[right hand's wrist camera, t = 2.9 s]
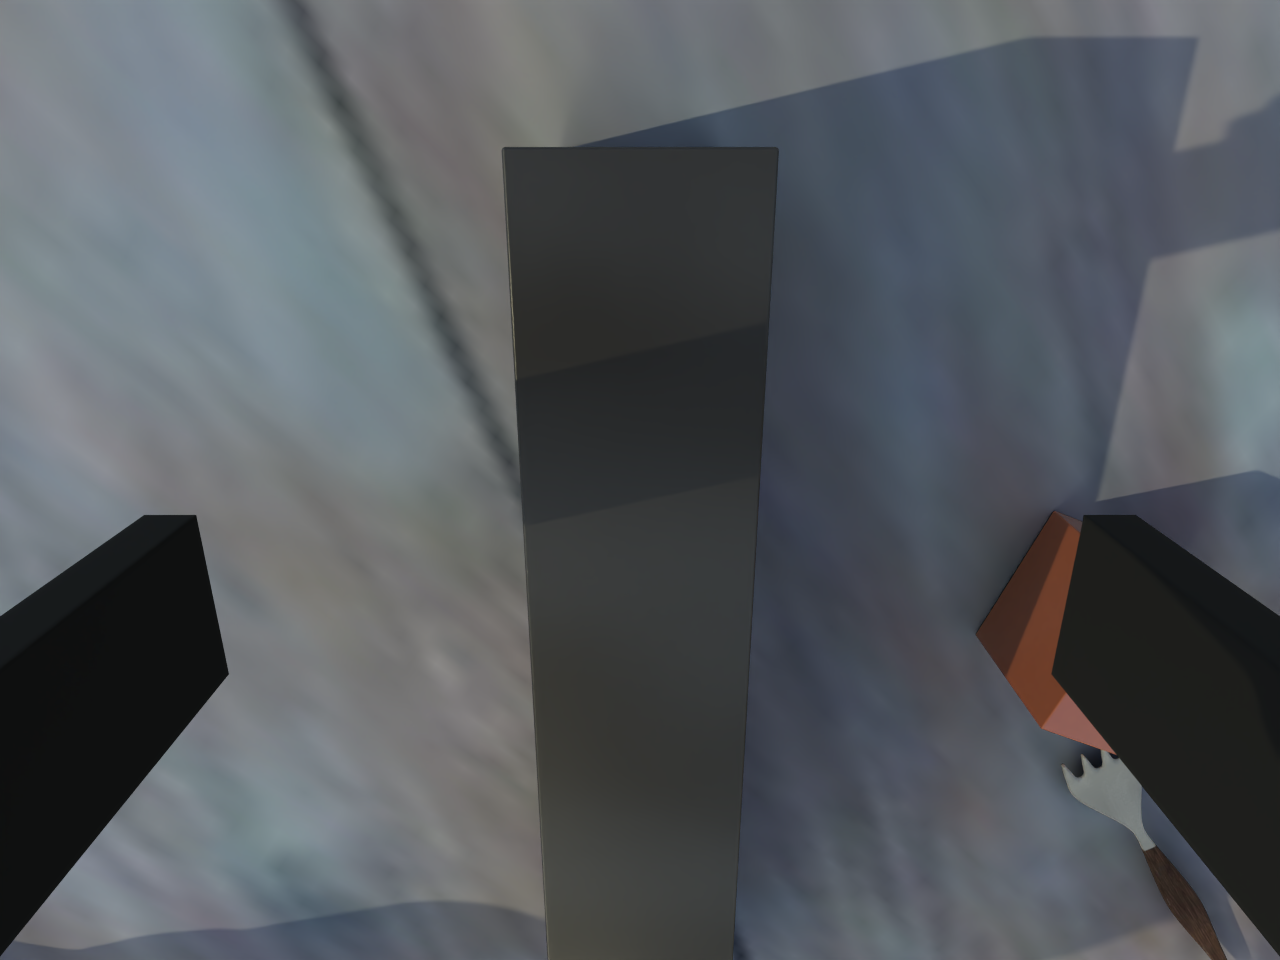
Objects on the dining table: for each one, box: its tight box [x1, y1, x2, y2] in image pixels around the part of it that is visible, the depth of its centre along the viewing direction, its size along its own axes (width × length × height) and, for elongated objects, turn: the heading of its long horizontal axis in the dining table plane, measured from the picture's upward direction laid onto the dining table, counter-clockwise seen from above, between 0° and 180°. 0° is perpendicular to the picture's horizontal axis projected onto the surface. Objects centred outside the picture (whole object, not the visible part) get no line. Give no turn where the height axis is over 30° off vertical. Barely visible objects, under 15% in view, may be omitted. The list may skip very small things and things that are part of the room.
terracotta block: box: [976, 511, 1116, 755], centre depth 26 cm, size 5×5×5 cm
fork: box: [1061, 750, 1227, 960], centre depth 31 cm, size 3×16×2 cm, turn 35°
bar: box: [502, 147, 779, 960], centre depth 24 cm, size 34×4×10 cm, turn 0°
